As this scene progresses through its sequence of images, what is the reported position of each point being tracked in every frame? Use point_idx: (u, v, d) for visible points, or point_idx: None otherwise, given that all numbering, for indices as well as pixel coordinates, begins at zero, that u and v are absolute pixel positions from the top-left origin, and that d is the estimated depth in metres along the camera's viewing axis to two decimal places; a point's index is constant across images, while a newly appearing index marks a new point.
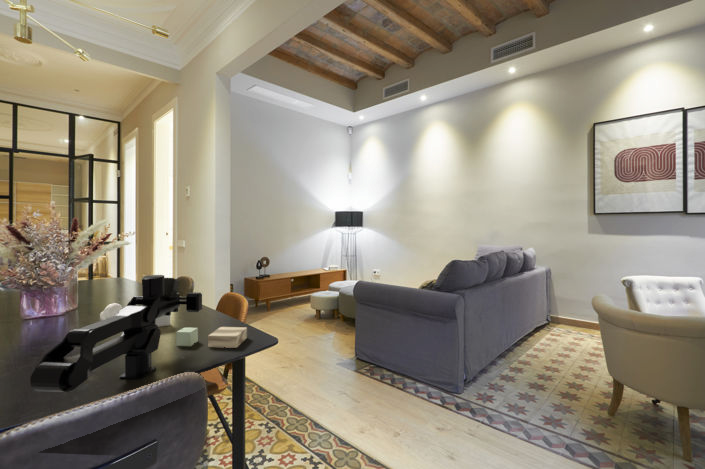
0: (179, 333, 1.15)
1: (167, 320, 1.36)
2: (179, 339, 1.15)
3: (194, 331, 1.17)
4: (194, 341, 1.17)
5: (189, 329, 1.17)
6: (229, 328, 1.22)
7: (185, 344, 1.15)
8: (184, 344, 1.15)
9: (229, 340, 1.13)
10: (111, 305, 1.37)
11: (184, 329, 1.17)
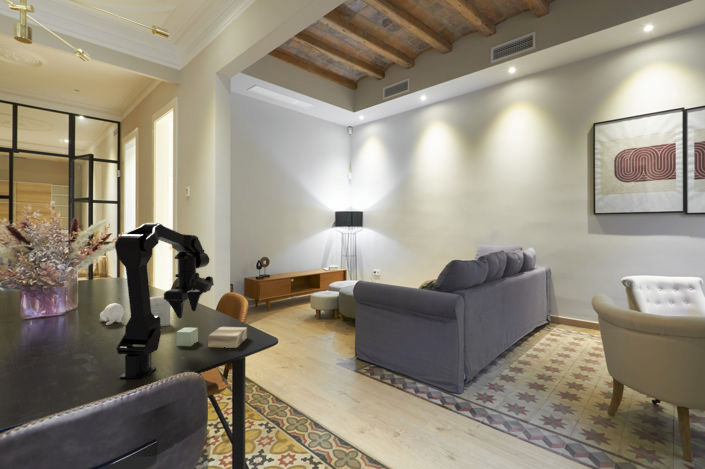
0: (179, 333, 1.15)
1: (167, 320, 1.36)
2: (179, 339, 1.15)
3: (194, 331, 1.17)
4: (194, 341, 1.17)
5: (189, 329, 1.17)
6: (229, 328, 1.22)
7: (185, 344, 1.15)
8: (184, 344, 1.15)
9: (229, 340, 1.13)
10: (111, 305, 1.37)
11: (184, 329, 1.17)
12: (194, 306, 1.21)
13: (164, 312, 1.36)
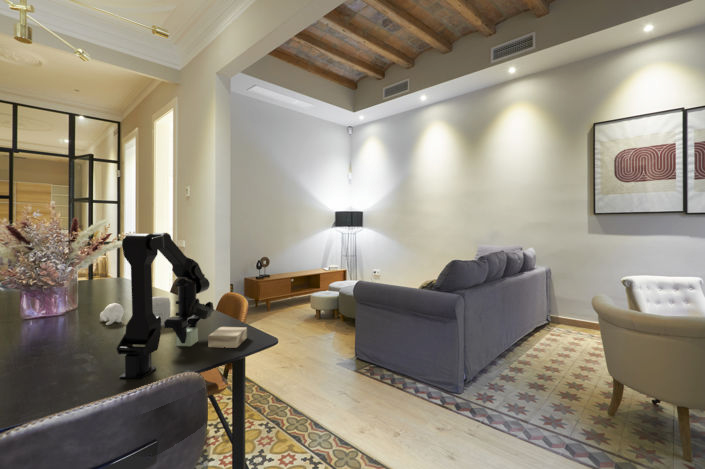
0: None
1: None
2: None
3: (194, 331, 1.17)
4: (194, 341, 1.17)
5: (189, 329, 1.17)
6: (229, 328, 1.22)
7: (185, 344, 1.15)
8: (184, 344, 1.15)
9: (229, 340, 1.13)
10: (111, 305, 1.37)
11: None
12: None
13: (164, 312, 1.36)
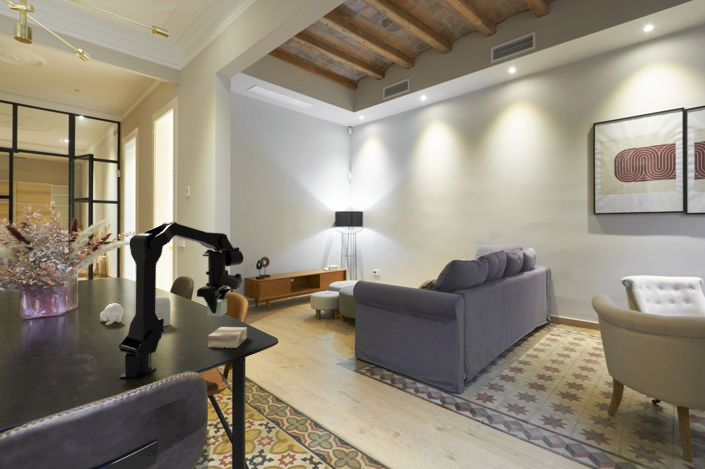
0: None
1: (167, 320, 1.36)
2: None
3: (223, 302, 1.18)
4: (224, 311, 1.18)
5: (219, 300, 1.19)
6: (229, 328, 1.22)
7: (216, 314, 1.16)
8: (215, 314, 1.16)
9: (229, 340, 1.13)
10: (111, 305, 1.37)
11: None
12: None
13: (164, 312, 1.36)
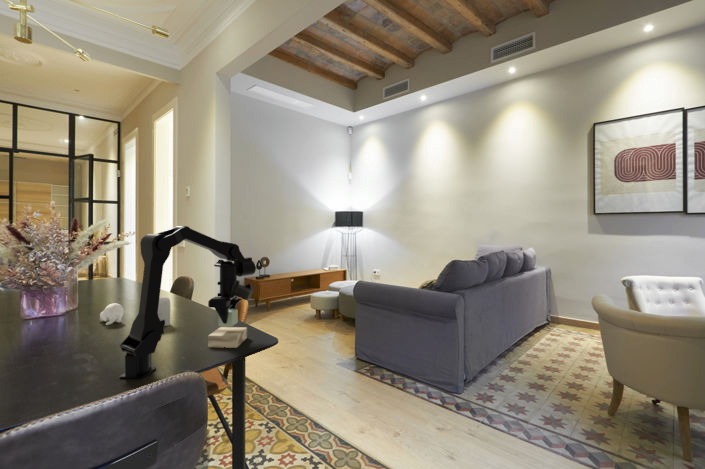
0: None
1: (167, 320, 1.36)
2: None
3: (234, 312, 1.18)
4: (235, 322, 1.18)
5: (230, 310, 1.19)
6: (229, 328, 1.22)
7: (227, 324, 1.16)
8: (226, 324, 1.16)
9: (229, 340, 1.13)
10: (111, 305, 1.37)
11: None
12: None
13: (164, 312, 1.36)
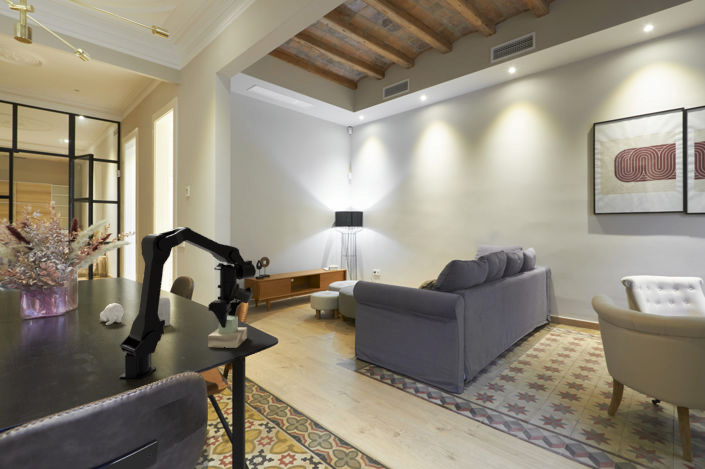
0: None
1: (167, 320, 1.36)
2: (221, 326, 1.16)
3: (234, 319, 1.18)
4: (235, 329, 1.19)
5: (230, 317, 1.19)
6: None
7: (227, 331, 1.16)
8: (226, 331, 1.16)
9: (229, 340, 1.13)
10: (111, 305, 1.37)
11: None
12: None
13: (164, 312, 1.36)
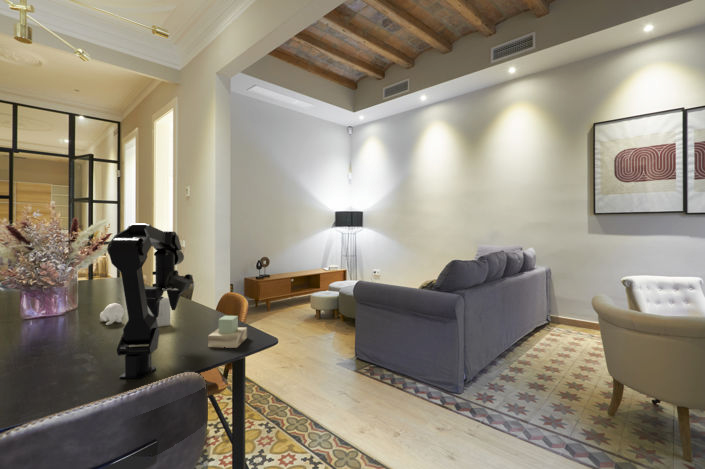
0: (221, 321, 1.16)
1: (167, 320, 1.36)
2: (221, 326, 1.16)
3: (234, 319, 1.18)
4: (235, 329, 1.19)
5: (230, 317, 1.19)
6: None
7: (227, 331, 1.16)
8: (226, 331, 1.16)
9: (229, 340, 1.13)
10: (111, 305, 1.37)
11: (225, 317, 1.19)
12: (174, 305, 1.17)
13: (164, 312, 1.36)
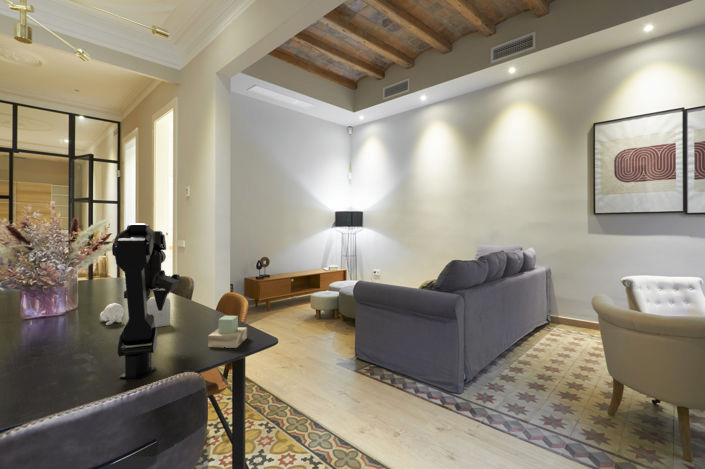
0: (221, 321, 1.16)
1: (167, 320, 1.36)
2: (221, 326, 1.16)
3: (234, 319, 1.18)
4: (235, 329, 1.19)
5: (230, 317, 1.19)
6: None
7: (227, 331, 1.16)
8: (226, 331, 1.16)
9: (229, 340, 1.13)
10: (111, 305, 1.37)
11: (225, 317, 1.19)
12: (160, 305, 1.16)
13: (164, 312, 1.36)
